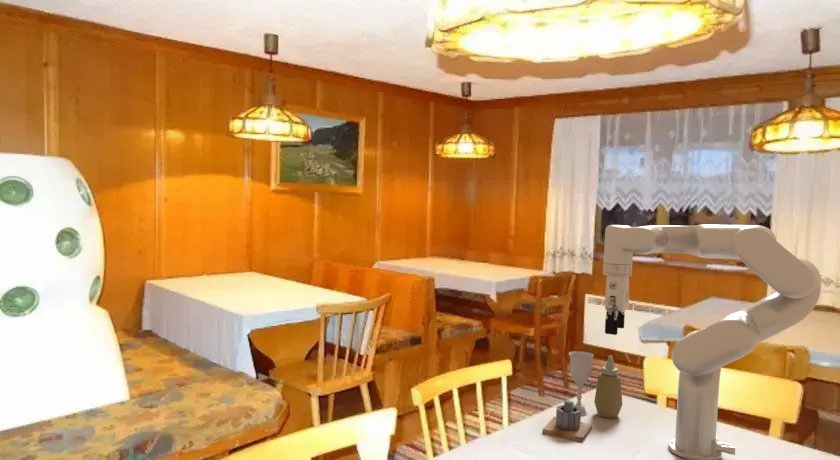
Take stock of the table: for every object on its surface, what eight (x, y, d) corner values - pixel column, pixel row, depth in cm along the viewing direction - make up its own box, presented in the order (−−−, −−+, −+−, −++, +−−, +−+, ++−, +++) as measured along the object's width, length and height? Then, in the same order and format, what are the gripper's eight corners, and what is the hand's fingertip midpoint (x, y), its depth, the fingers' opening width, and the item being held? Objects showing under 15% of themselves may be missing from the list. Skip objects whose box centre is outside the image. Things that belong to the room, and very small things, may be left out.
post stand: (592, 428, 170) (593, 400, 170) (582, 442, 161) (584, 411, 160) (554, 420, 176) (555, 392, 175) (542, 433, 166) (543, 403, 166)
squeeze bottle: (620, 411, 184) (623, 353, 183) (623, 421, 177) (626, 360, 176) (593, 409, 186) (595, 351, 185) (594, 418, 178) (597, 358, 177)
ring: (582, 425, 169) (583, 407, 169) (576, 432, 164) (577, 414, 163) (559, 420, 172) (560, 403, 172) (553, 427, 167) (554, 410, 167)
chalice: (588, 409, 186) (591, 351, 185) (593, 417, 179) (595, 357, 178) (564, 408, 186) (567, 350, 185) (567, 416, 180) (570, 356, 179)
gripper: (625, 274, 157) (622, 338, 158) (636, 267, 173) (633, 327, 174) (596, 271, 161) (593, 334, 162) (610, 265, 176) (607, 323, 177)
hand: (614, 330), depth 168 cm, fingers open, 9 cm apart
